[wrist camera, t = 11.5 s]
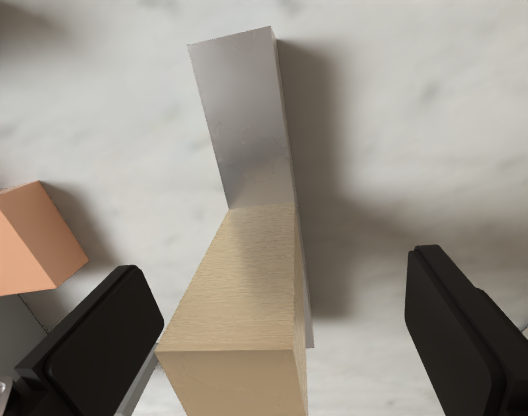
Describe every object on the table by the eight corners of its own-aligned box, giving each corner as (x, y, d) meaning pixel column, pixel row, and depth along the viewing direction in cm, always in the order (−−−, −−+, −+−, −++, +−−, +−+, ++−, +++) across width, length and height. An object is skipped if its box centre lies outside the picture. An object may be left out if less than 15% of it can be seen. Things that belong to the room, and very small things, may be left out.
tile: (43, 178, 16) (-9, 197, 13) (92, 258, 18) (56, 287, 16) (-29, 196, 17) (-90, 217, 14) (25, 268, 19) (-18, 298, 17)
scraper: (276, 39, 11) (203, -127, 2) (311, 308, 18) (327, 533, 9) (211, 54, 12) (-48, -37, 3) (269, 309, 18) (243, 524, 9)
